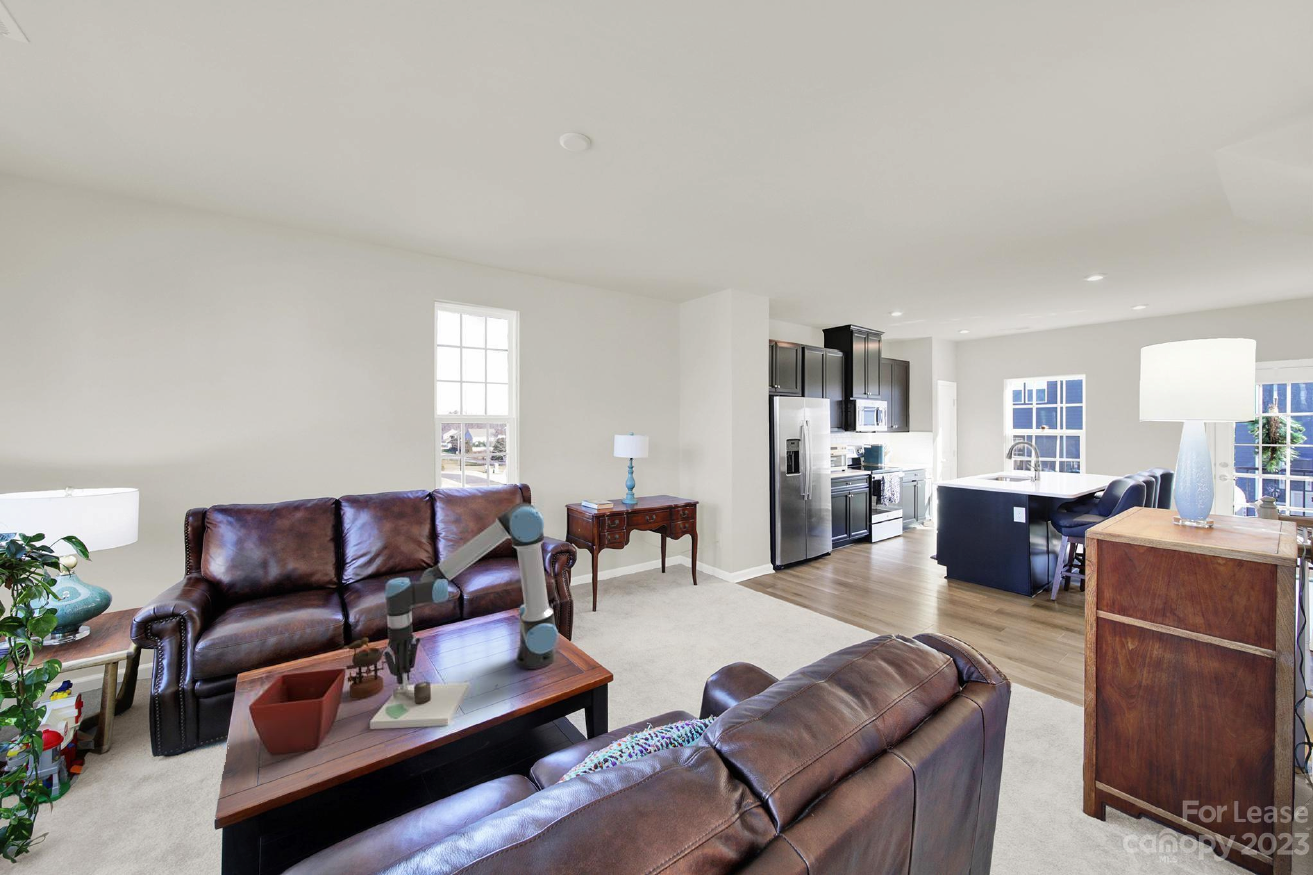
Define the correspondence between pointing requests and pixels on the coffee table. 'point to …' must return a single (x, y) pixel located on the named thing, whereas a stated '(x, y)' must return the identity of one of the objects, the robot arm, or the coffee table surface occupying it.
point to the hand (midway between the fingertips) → (403, 691)
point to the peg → (415, 693)
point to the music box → (365, 658)
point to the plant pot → (298, 710)
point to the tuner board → (422, 708)
